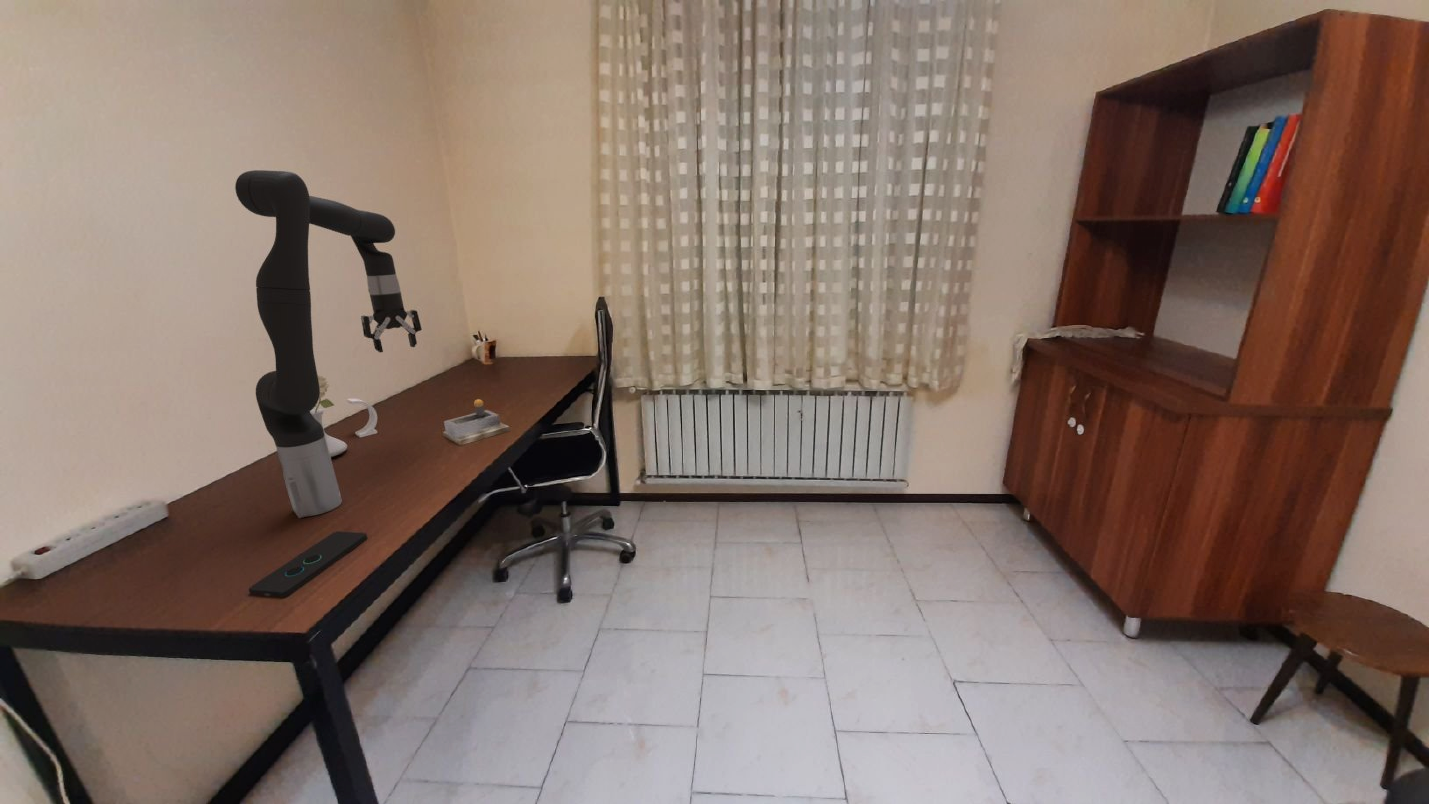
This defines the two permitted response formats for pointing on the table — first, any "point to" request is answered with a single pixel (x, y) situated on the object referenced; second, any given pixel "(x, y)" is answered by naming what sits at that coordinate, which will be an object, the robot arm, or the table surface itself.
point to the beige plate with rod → (481, 435)
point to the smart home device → (307, 565)
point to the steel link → (471, 424)
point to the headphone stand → (372, 419)
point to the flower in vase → (332, 443)
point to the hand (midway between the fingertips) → (397, 349)
